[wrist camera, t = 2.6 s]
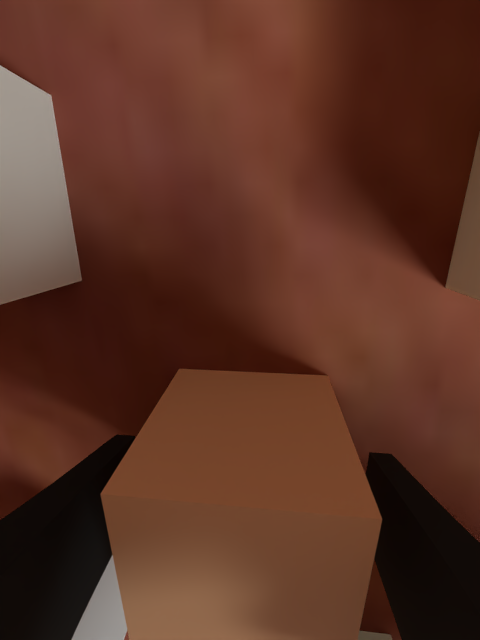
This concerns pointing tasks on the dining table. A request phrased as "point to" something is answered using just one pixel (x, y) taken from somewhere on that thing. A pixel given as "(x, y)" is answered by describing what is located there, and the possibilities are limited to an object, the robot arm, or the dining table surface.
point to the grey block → (103, 611)
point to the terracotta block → (242, 513)
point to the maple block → (468, 239)
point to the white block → (32, 195)
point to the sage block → (373, 636)
